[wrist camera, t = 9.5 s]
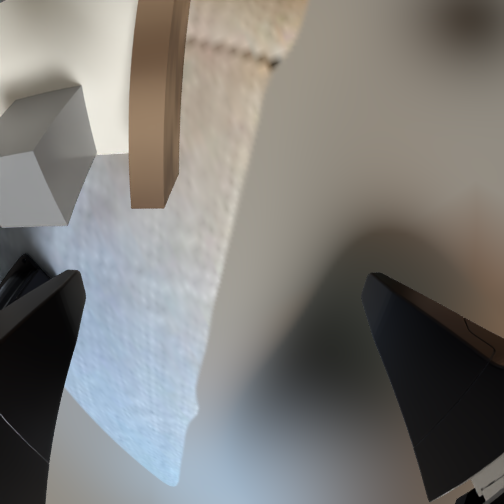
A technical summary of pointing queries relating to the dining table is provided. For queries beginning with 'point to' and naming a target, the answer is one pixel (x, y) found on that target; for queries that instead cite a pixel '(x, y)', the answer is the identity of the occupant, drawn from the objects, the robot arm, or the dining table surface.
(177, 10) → the trapdoor frame
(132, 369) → the dining table surface
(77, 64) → the trapdoor
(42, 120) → the light gray block
